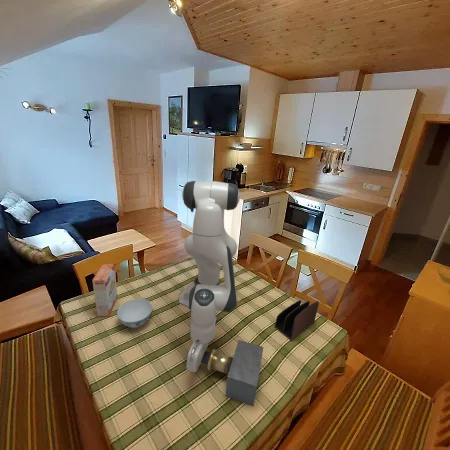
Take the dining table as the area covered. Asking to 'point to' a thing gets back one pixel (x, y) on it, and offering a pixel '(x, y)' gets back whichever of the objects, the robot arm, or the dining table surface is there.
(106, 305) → the cracker box
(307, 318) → the letter holder
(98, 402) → the dining table surface
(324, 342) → the dining table surface
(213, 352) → the brass flanged shaft
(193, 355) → the robot arm
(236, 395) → the housing
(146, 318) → the chinaware
